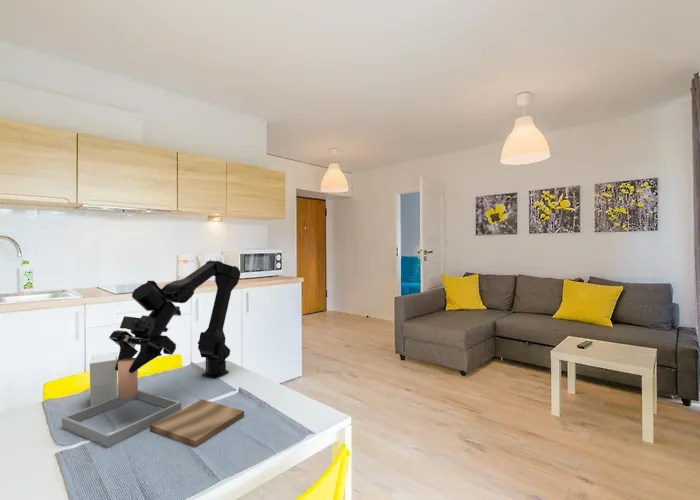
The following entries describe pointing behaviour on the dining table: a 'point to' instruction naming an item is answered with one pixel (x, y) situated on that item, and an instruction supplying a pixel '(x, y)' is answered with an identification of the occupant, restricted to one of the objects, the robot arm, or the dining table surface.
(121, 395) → the copper brown cylinder
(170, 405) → the tray
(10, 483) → the dining table surface
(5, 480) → the dining table surface
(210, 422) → the board
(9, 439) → the dining table surface
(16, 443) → the dining table surface
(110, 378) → the small box
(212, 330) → the robot arm
